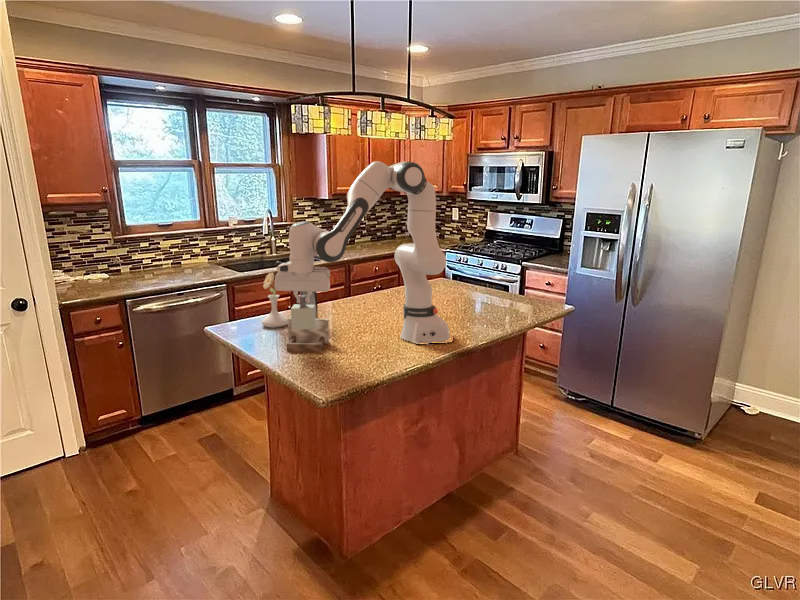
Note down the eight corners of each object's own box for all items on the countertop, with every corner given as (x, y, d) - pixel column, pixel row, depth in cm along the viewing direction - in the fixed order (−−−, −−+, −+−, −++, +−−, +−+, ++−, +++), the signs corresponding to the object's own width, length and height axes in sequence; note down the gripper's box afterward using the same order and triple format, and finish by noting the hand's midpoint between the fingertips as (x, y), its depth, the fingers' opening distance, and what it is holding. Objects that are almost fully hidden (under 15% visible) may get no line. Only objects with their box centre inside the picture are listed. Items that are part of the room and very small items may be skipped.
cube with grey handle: (315, 324, 184) (314, 294, 181) (312, 329, 178) (312, 298, 175) (295, 324, 183) (294, 294, 180) (291, 328, 178) (290, 297, 175)
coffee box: (318, 327, 210) (317, 292, 206) (304, 329, 208) (302, 293, 204) (314, 322, 218) (313, 288, 214) (300, 323, 216) (299, 289, 212)
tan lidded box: (328, 342, 192) (328, 318, 189) (324, 352, 181) (324, 327, 179) (289, 341, 192) (288, 318, 189) (283, 351, 181) (281, 326, 179)
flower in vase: (262, 322, 216) (259, 268, 210) (288, 321, 218) (286, 268, 212) (260, 331, 204) (257, 274, 197) (287, 330, 206) (285, 273, 200)
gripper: (331, 265, 178) (331, 300, 181) (276, 264, 178) (278, 299, 181) (328, 268, 172) (329, 305, 175) (272, 267, 172) (274, 303, 175)
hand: (303, 302), depth 178 cm, fingers closed on cube with grey handle
